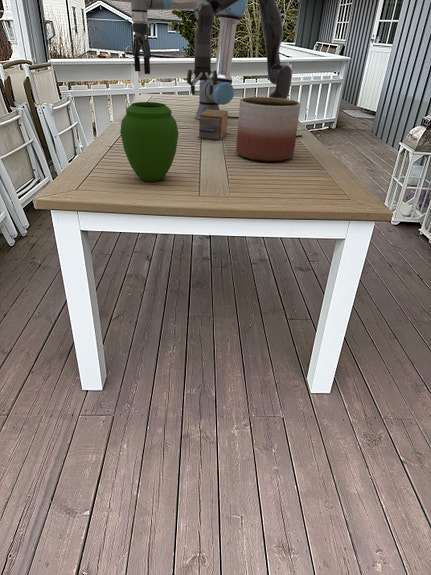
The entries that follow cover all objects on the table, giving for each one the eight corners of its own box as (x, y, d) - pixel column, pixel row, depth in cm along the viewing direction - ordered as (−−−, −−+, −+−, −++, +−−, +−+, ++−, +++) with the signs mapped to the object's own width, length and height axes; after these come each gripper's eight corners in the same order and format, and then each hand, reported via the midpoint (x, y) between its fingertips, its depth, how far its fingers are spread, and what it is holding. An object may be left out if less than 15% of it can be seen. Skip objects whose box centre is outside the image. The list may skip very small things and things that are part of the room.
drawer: (216, 141, 197) (217, 121, 192) (196, 139, 198) (197, 119, 193) (224, 132, 214) (225, 113, 209) (206, 130, 216) (206, 112, 211)
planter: (301, 163, 172) (310, 106, 161) (242, 163, 168) (247, 105, 157) (283, 148, 194) (289, 97, 182) (230, 148, 189) (234, 96, 178)
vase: (131, 189, 135) (125, 110, 122) (118, 172, 150) (112, 100, 137) (186, 184, 142) (187, 109, 129) (169, 168, 157) (167, 99, 144)
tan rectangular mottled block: (220, 140, 203) (221, 116, 198) (199, 138, 205) (199, 114, 199) (226, 133, 217) (227, 110, 212) (206, 131, 219) (207, 109, 213)
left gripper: (123, 22, 204) (127, 70, 215) (141, 22, 186) (144, 75, 197) (138, 23, 207) (140, 70, 219) (157, 23, 189) (158, 75, 201)
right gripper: (190, 55, 180) (190, 95, 188) (220, 56, 185) (218, 95, 193) (185, 54, 186) (185, 93, 194) (214, 55, 191) (212, 93, 199)
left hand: (142, 72), depth 208 cm, fingers open, 13 cm apart
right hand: (201, 94), depth 194 cm, fingers open, 8 cm apart
